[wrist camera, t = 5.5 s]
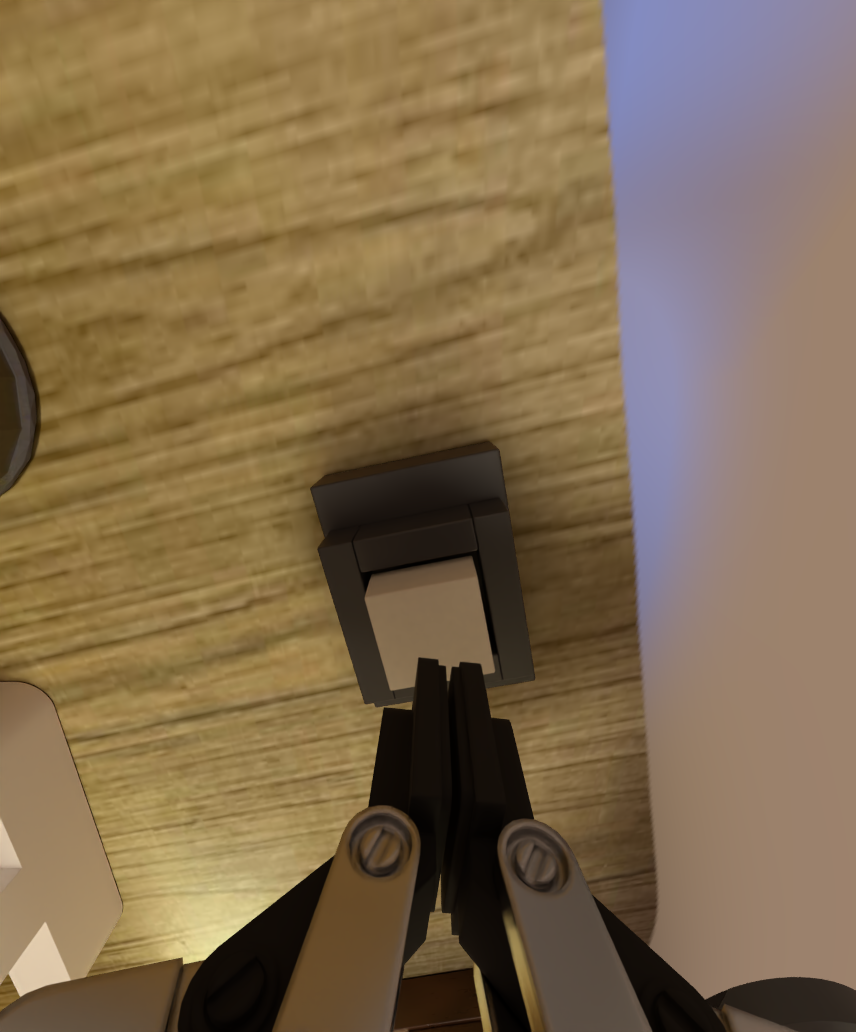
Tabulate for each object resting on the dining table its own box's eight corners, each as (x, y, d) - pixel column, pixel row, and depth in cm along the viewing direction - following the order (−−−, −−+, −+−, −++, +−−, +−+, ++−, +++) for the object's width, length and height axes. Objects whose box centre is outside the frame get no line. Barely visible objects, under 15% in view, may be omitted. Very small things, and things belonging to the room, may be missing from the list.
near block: (524, 649, 20) (547, 712, 16) (380, 675, 20) (369, 742, 16) (490, 440, 17) (508, 456, 13) (323, 475, 17) (293, 500, 13)
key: (488, 642, 16) (495, 673, 14) (394, 659, 16) (390, 691, 14) (471, 554, 14) (477, 576, 13) (370, 573, 15) (363, 597, 13)
